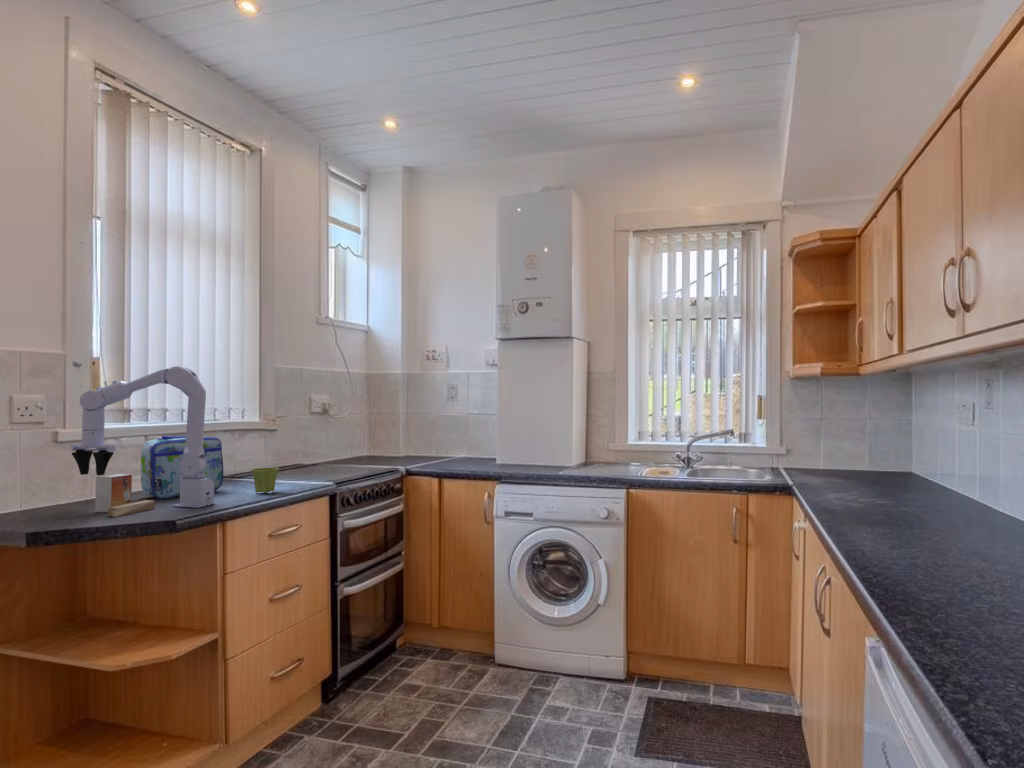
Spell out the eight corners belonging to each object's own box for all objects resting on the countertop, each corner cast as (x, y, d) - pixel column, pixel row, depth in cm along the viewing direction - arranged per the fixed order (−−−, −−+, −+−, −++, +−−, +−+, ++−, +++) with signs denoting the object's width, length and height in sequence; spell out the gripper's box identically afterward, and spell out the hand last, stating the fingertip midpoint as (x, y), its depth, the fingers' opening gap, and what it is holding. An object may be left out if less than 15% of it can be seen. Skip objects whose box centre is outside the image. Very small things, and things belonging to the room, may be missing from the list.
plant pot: (244, 494, 225) (245, 469, 225) (264, 490, 234) (264, 467, 234) (265, 495, 221) (265, 470, 222) (284, 492, 230) (284, 468, 230)
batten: (154, 508, 194) (154, 500, 194) (116, 516, 181) (116, 508, 181) (146, 508, 195) (146, 500, 195) (107, 516, 181) (107, 507, 181)
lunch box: (152, 501, 209) (153, 437, 209) (136, 498, 215) (137, 436, 215) (226, 491, 230) (227, 434, 231) (209, 489, 236) (210, 433, 237)
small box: (110, 512, 187) (111, 477, 187) (94, 512, 188) (95, 476, 189) (131, 508, 195) (132, 474, 195) (116, 507, 196) (117, 473, 196)
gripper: (62, 430, 192) (61, 475, 191) (101, 431, 189) (100, 477, 188) (82, 429, 199) (81, 472, 198) (121, 430, 195) (120, 474, 195)
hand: (92, 474), depth 194 cm, fingers open, 5 cm apart
